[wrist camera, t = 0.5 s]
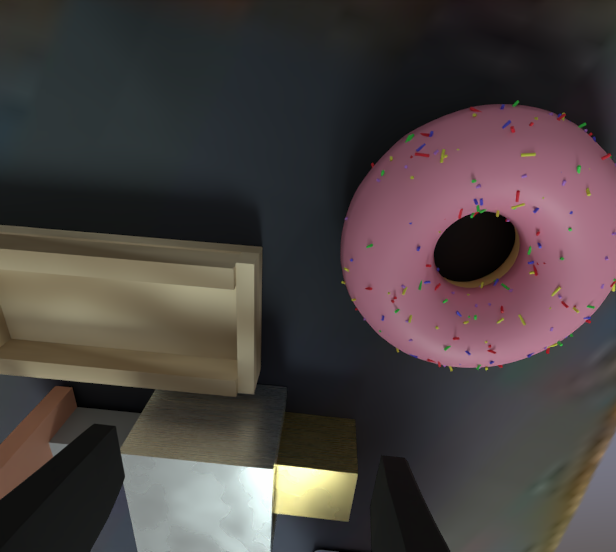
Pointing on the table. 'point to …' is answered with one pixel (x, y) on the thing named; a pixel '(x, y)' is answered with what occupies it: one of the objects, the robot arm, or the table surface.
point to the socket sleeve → (204, 471)
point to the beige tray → (130, 310)
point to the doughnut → (470, 200)
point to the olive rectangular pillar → (316, 467)
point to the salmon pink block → (52, 434)
